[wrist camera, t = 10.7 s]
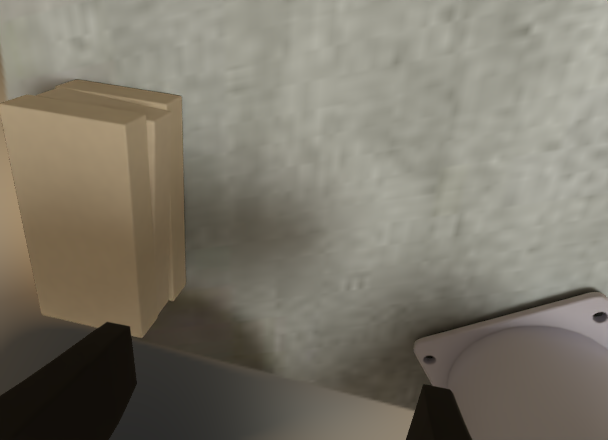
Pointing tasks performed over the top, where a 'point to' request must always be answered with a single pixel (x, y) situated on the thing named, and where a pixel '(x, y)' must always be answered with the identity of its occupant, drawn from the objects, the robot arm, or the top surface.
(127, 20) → the top surface
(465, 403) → the robot arm
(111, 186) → the beige flat slab
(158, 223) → the beige book
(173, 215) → the beige flat block
